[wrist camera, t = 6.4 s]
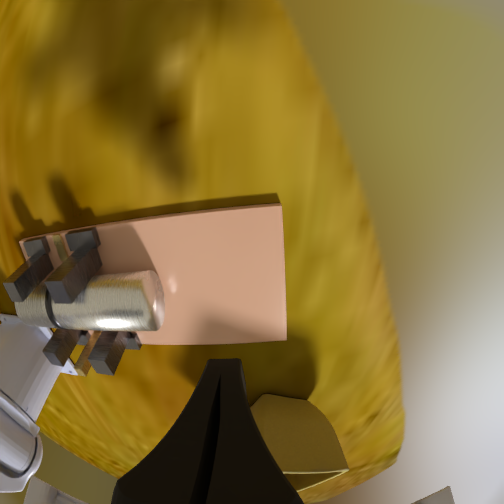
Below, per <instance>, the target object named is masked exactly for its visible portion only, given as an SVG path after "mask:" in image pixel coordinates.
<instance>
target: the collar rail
mask: <svg viewBox="0 0 504 504" xmlns="http://www.w3.org/2000/svg"><path fill="white" fill-rule="evenodd" d="M52 238H53V241H54V244H55V246H56V249H57V252H58V254H59V257H60V260H61V261H64V262H63V263H62V264H61V265H60V266H59V267H58V268H57V269H56V270H55V271H54V272H53V273H52V274H51V275H50V276H49V277H48V278H47V279H46V280H45V281H44V282H45V284H46V287H47V289H48V291H49V293H50V295H51V297H52V299H53V301H54V303H57V304H72V303H73V302H74V300H75V299H76V298H77V296H78V295H79V294H80V292H81V291H82V290H83V289H84V287H85V286H86V285H87V284H88V282H89V281H90V280H91V279H92V277H93V276H94V275H95V274H96V272H97V271H98V270H99V269H100V268H101V266H102V265H103V264H102V261H101V258H100V255H99V252H98V249H97V248H98V247H99V246H100V245H101V242H100V239H99V235H98V232H97V229H96V227H91V228H85V229H79V230H73V231H69V232H68V233H66V234H65V238H66V241H67V243H68V246H69V249H70V251H74V252H73V253H72V254H71V255H70V256H69V255H68V253H67V250H66V247H65V244H64V242H63V239H62V236H61V233H60V234H55V235H53V236H52ZM23 245H24V247H25V250H26V253H27V255H28V257H30V258H29V259H28V260H27V261H26V262H25V263H23V264H22V265H21V266H20V267H19V268H18V269H17V270H16V271H15V272H14V273H13V274H12V275H11V276H9V277H8V278H7V279H6V280H5V281H4V282H3V285H4V287H5V289H6V291H7V293H8V295H9V297H10V299H11V301H12V302H23V301H24V300H25V299H26V298H27V297H28V296H29V295H30V294H31V293H32V291H33V290H34V289H35V288H36V287H37V286H38V285H39V284H40V283H41V282H42V281H43V280H44V279H45V278H46V276H47V275H48V274H49V273H50V272H51V271H52V270H53V269H54V267H53V265H52V262H51V260H50V257H49V255H48V253H49V252H50V251H51V250H50V247H49V244H48V241H47V239H46V236H41V237H36V238H31V239H27V240H26V241H24V242H23ZM76 344H79V345H86V346H85V348H84V349H83V351H82V353H81V355H80V357H79V359H78V361H77V362H76V364H75V366H74V370H75V371H76V372H77V374H78V375H81V376H87V374H88V372H89V369H90V367H91V365H92V367H93V368H94V370H95V371H96V372H97V373H100V374H107V375H114V374H115V371H116V369H117V366H118V364H119V362H120V359H121V357H122V355H123V352H124V350H125V349H138V350H140V348H141V346H142V343H141V341H140V339H139V337H138V335H137V334H133V333H132V332H131V331H97V330H94V332H93V334H92V335H90V333H89V332H88V331H84V330H75V329H59V328H57V329H56V331H55V332H54V334H53V335H52V337H51V338H50V340H49V341H48V343H47V344H46V346H45V347H44V349H43V350H42V352H43V353H44V355H45V356H46V357H47V359H48V360H49V362H50V363H51V364H52V365H57V366H61V367H64V365H65V364H66V362H67V360H68V358H69V356H70V355H71V353H72V351H73V349H74V348H75V346H76Z"/></svg>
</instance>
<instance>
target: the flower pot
mask: <svg viewBox="0 0 504 504" xmlns="http://www.w3.org/2000/svg"><path fill="white" fill-rule="evenodd" d="M250 409H251V412H252V415H253V417H254V420H255V422H256V424H257V427H258V429H259V431H260V433H261V435H262V437H263V439H264V441H265V443H266V445H267V447H268V449H269V451H270V452H271V454H272V456H273V458H274V459H275V461H276V463H277V464H278V466H279V467H280V469H281V470H282V472H283V473H284V475H285V476H286V478H287V479H288V481H289V482H290V483H291V485H292V486H293V487H294V489H295V490H296V491H297V492H298V491H301V490H304V489H307V488H309V487H312V486H315V485H317V484H320V483H322V482H325V481H327V480H329V479H332V478H334V477H336V476H338V475H341V474H343V473H345V472H347V471H349V467H348V465H347V462H346V459H345V457H344V454H343V451H342V448H341V446H340V443H339V441H338V438H337V435H336V433H335V431H334V429H333V427H332V425H331V423H330V422H329V421H328V419H327V418H326V417H325V415H324V414H323V413H322V412H321V411H320V410H319V409H318V408H317V407H315V406H314V405H313V404H311V403H310V402H309V401H307V400H301V399H295V398H288V397H282V396H277V395H272V394H264V395H262V396H261V397H260V398H259V399H258V400H257V401H256V402H255V403H254V404H253V405H252V406H251V407H250Z"/></svg>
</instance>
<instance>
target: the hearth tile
mask: <svg viewBox="0 0 504 504" xmlns="http://www.w3.org/2000/svg"><path fill="white" fill-rule="evenodd" d="M91 227H96V229H97V232H98V235H99V239H100V242H101V245H100V246H99V247H98V248H97V249H98V252H99V255H100V258H101V261H102V264H103V265H102V266H101V268H100V269H99V270H98V271H97V272H96V274H95V275H105V274H116V273H127V272H137V271H148V270H152V271H154V272H155V273H156V274H157V275H158V277H159V279H160V281H161V284H162V287H163V291H164V297H165V315H164V320H163V324H162V326H161V328H160V329H159V330H157V331H131V332H132V333H133V334H137V335H138V337H139V339H140V341H141V343H142V344H163V345H205V344H236V343H254V342H269V341H281V340H287V327H286V290H285V263H284V240H283V221H282V205H281V203H273V204H261V205H249V206H239V207H228V208H218V209H209V210H200V211H191V212H183V213H175V214H167V215H159V216H152V217H144V218H137V219H131V220H124V221H117V222H111V223H105V224H98V225H92V226H87V227H81V228H75V229H70V230H64V231H59V232H54V233H49V234H44V235H39V236H34V237H29V238H24V239H22V240H20V241H19V243H20V246H21V249H22V251H23V254H24V256H25V259H26V261H27V260H28V259H29V258H30V257H28V255H27V253H26V250H25V247H24V245H23V242H24V241H26V240H27V239H31V238H36V237H41V236H46V239H47V241H48V244H49V247H50V250H51V251H50V252H49V253H48V255H49V257H50V260H51V262H52V265H53V267H54V269H53V270H52V271H51V272H50V273H49V274H48V275H47V276H46V278H45V279H44V280H46V279H47V278H48V277H49V276H50V275H51V274H52V273H53V272H54V271H55V270H56V269H57V268H58V267H59V266H60V265H61V264H62V263H63V262H64V261H61V260H60V257H59V254H58V252H57V249H56V246H55V244H54V241H53V238H52V236H53V235H55V234H60V233H61V236H62V239H63V242H64V244H65V247H66V250H67V253H68V255H69V256H70V255H71V254H72V253H73V252H74V251H70V249H69V246H68V243H67V241H66V238H65V234H66V233H68V232H69V231H73V230H79V229H85V228H91ZM84 331H88V332H89V333H90V335H92V334H93V332H94V330H84Z"/></svg>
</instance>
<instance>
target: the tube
mask: <svg viewBox="0 0 504 504" xmlns="http://www.w3.org/2000/svg"><path fill="white" fill-rule="evenodd" d="M44 281H45V280H43V281H42V282H41V283H40V284H39V285H38V286H37V287H36V288H35V289H34V290H33V291H32V293H31V294H30V295H29V296H28V297H27V298H26V299H25V300H24V301H23V302H15V309H16V312H17V315H18V317H19V318H20V320H21V321H22V322H23V323H24V324H26V325H28V326H36V327H47V328H59V329H75V330H97V331H157V330H159V329H160V328H161V326H162V324H163V320H164V315H165V297H164V291H163V287H162V284H161V281H160V279H159V277H158V275H157V274H156V273H155V272H154V271H152V270H148V271H137V272H127V273H116V274H105V275H94V276H93V277H92V279H91V280H90V281H89V282H88V284H87V285H86V286H85V287H84V289H83V290H82V291H81V292H80V294H79V295H78V296H77V298H76V299H75V300H74V302H73V303H72V304H57V303H54V301H53V299H52V297H51V295H50V293H49V291H48V289H47V287H46V284H45V282H44Z"/></svg>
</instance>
